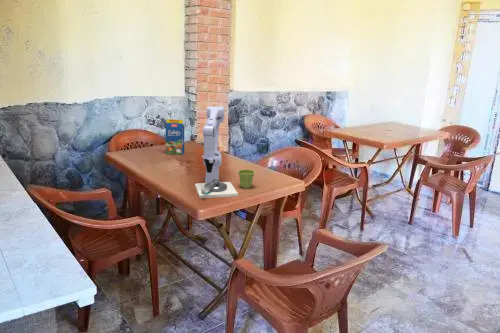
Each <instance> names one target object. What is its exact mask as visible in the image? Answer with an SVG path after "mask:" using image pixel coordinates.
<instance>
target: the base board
mask: <svg viewBox="0 0 500 333" xmlns="http://www.w3.org/2000/svg"><path fill="white" fill-rule="evenodd" d="M220 182H221V181H220ZM221 183H225V184H226V185H227V189H226V190H224V191H220V192H212V191H208V192H207V193H205V194H201V188H204V187H205V184H206V182H202V183H198V182H197V183H194V188H195V187H196V188H195V190H196V192H197V195H198V198H199V199H211V198H214V199H215V198H231V197H238V196H239V193H238V191H237V190H236V189H235V187H234V185H233V184H232V182H231V181H224V182H223V181H222V182H221Z"/></svg>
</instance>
